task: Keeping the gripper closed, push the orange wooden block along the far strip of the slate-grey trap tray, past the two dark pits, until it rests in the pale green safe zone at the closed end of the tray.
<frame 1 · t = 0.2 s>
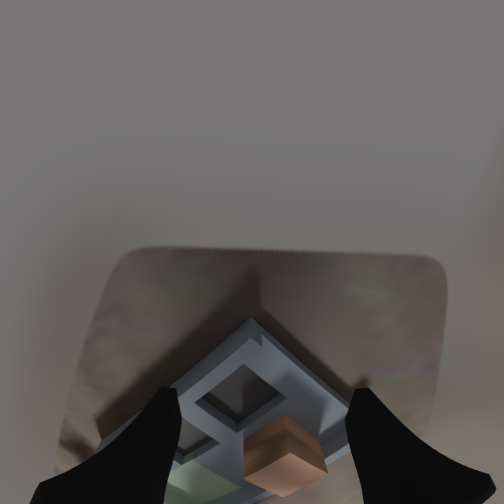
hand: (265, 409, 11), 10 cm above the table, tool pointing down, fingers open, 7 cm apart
block: (281, 439, 22), point 1 cm above the table, touching trap tray
trap tray: (218, 439, 23), on the table
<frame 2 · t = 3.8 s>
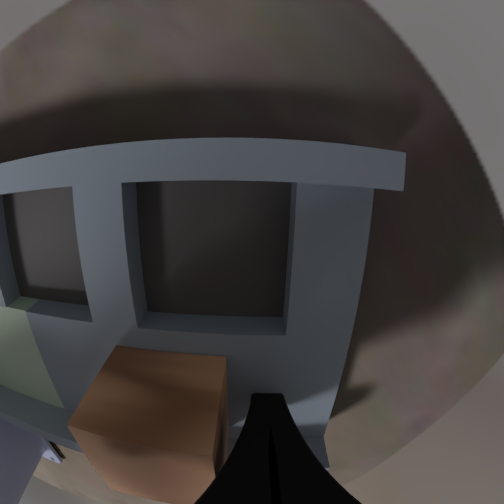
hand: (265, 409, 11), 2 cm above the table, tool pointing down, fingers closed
block: (175, 392, 11), point 2 cm above the table, touching gripper
trap tray: (91, 313, 12), on the table
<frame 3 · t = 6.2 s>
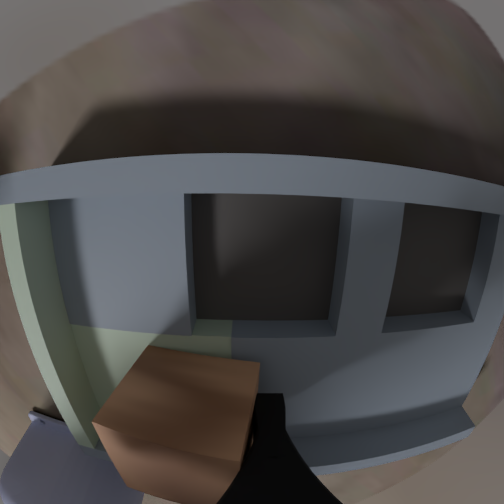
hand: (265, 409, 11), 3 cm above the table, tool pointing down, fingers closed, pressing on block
block: (204, 395, 11), point 2 cm above the table, tilted 9°, touching gripper, trap tray
trap tray: (303, 327, 13), on the table
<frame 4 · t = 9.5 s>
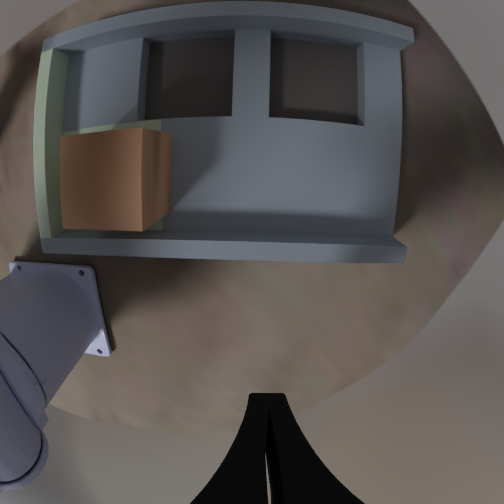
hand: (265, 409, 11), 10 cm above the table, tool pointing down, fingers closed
block: (134, 173, 16), point 1 cm above the table, touching trap tray
trap tray: (216, 127, 17), on the table
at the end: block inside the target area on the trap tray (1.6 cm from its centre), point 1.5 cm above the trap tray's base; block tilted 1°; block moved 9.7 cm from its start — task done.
